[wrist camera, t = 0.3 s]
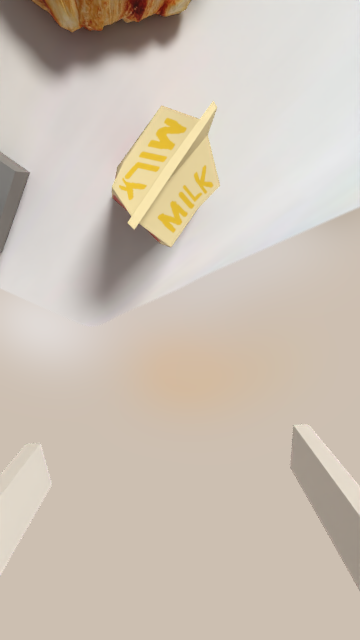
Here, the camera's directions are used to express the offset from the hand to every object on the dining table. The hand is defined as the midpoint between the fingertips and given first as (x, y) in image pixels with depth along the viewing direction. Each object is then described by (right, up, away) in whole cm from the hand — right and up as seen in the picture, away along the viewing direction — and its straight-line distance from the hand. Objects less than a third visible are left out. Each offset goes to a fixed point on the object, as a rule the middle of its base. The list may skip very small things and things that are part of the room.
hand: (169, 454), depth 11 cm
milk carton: (-1, +25, +17) cm, 30 cm away
